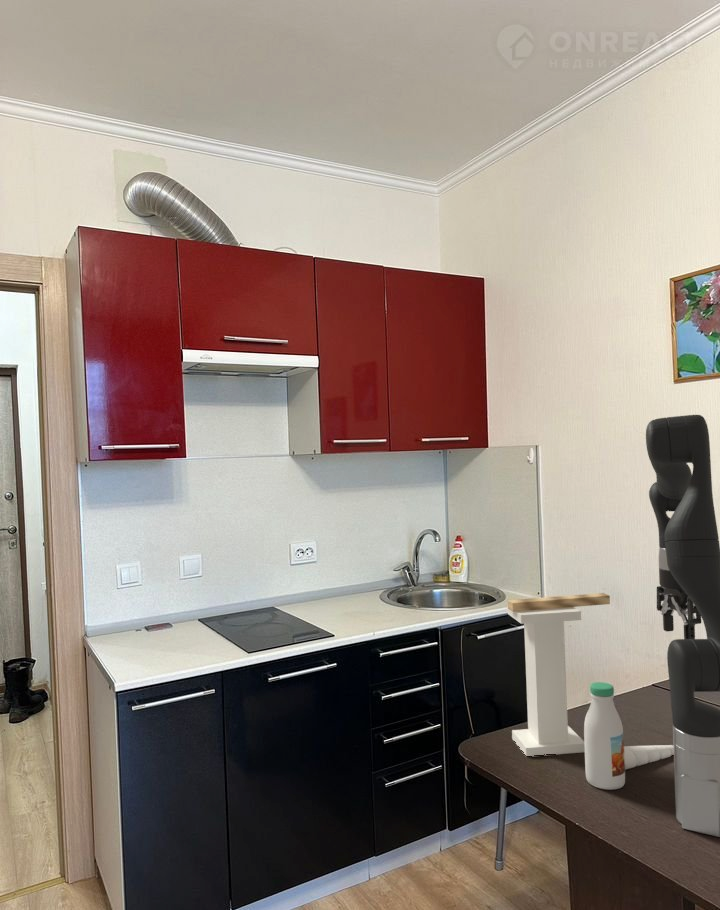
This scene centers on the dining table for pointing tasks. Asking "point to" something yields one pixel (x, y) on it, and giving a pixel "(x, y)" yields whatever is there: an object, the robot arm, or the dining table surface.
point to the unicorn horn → (645, 754)
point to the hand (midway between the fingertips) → (678, 635)
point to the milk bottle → (604, 740)
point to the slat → (558, 602)
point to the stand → (546, 683)
